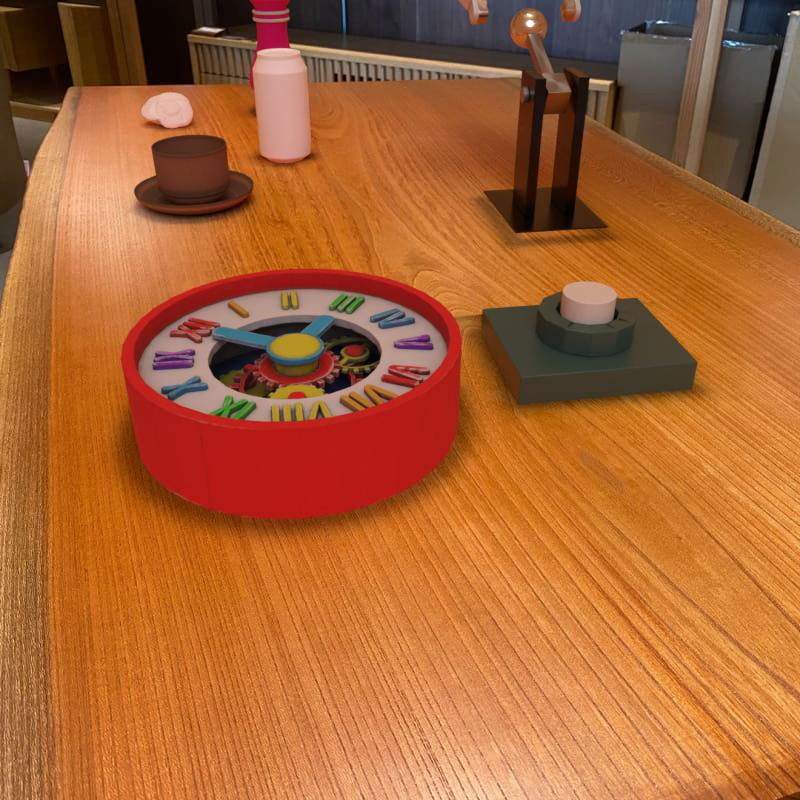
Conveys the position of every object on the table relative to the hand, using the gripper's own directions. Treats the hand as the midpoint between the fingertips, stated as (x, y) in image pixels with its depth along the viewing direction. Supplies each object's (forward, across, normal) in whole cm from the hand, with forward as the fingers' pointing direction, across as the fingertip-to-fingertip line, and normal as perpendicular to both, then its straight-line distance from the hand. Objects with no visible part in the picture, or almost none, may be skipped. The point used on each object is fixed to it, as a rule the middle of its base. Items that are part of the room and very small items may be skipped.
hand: (526, 19), depth 83 cm
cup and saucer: (+12, -34, +12) cm, 38 cm away
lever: (+7, 0, 0) cm, 7 cm away
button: (+37, -6, -18) cm, 41 cm away
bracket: (+19, 0, +5) cm, 20 cm away
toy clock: (+42, -26, -18) cm, 53 cm away
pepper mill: (-15, -24, +39) cm, 48 cm away
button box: (+39, -6, -15) cm, 42 cm away
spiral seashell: (-11, -39, +35) cm, 54 cm away
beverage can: (+2, -24, +22) cm, 33 cm away
